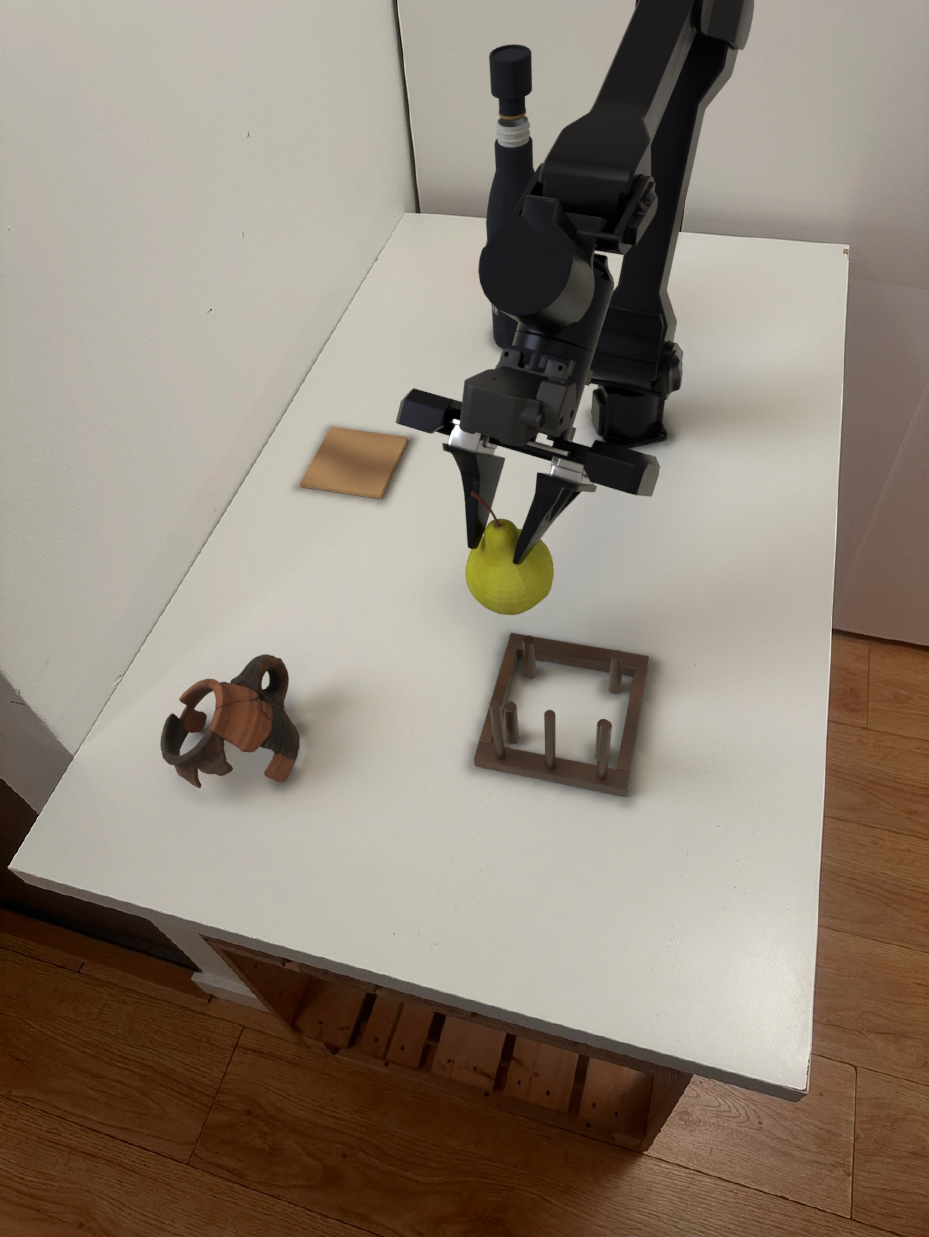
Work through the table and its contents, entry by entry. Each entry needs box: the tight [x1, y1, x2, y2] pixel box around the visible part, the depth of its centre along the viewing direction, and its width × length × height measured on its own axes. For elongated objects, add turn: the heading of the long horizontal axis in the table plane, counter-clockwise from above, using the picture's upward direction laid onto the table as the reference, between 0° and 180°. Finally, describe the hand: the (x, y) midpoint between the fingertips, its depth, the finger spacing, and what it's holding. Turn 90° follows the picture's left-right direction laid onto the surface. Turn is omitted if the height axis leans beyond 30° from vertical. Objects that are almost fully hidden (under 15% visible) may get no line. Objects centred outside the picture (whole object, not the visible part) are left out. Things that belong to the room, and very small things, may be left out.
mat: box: [299, 426, 410, 500], centre depth 91 cm, size 9×9×1 cm
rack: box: [473, 632, 650, 798], centre depth 68 cm, size 13×12×9 cm
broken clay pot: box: [159, 653, 301, 789], centre depth 70 cm, size 12×10×8 cm
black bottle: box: [485, 44, 536, 350], centre depth 90 cm, size 6×6×30 cm
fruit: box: [465, 491, 555, 616], centre depth 66 cm, size 7×7×12 cm
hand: (494, 556), depth 64 cm, fingers closed on fruit, 3 cm apart
